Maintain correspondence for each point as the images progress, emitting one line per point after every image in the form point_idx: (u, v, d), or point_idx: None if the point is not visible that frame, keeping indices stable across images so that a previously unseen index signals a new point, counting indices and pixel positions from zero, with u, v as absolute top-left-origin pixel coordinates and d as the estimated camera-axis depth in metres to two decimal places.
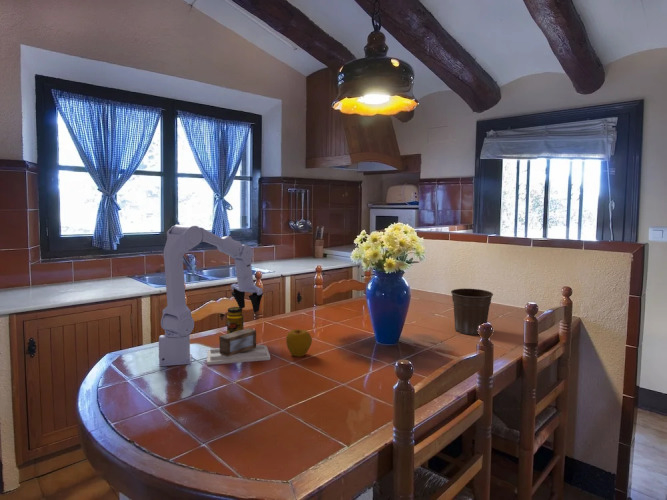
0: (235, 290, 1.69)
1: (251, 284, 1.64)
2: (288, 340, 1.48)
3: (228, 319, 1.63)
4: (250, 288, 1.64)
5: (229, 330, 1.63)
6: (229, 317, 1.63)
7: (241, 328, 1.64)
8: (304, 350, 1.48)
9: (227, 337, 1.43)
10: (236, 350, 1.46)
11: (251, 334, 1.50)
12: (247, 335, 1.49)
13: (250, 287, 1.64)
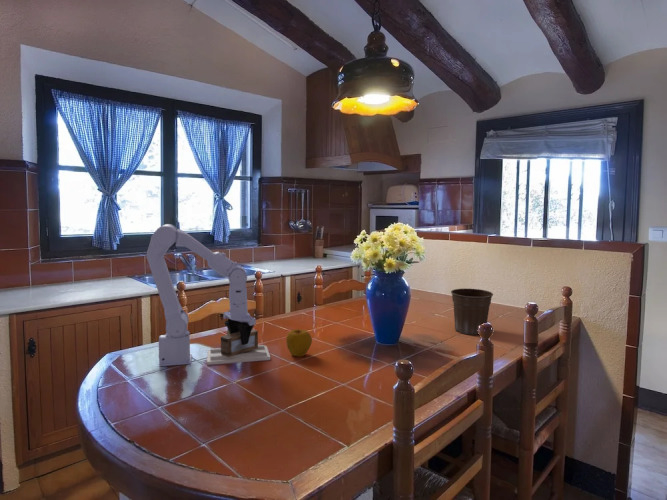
0: None
1: (244, 313, 1.45)
2: (288, 340, 1.48)
3: None
4: (242, 317, 1.45)
5: None
6: None
7: None
8: (304, 350, 1.48)
9: (228, 337, 1.43)
10: (237, 351, 1.45)
11: (253, 334, 1.49)
12: None
13: (243, 316, 1.45)
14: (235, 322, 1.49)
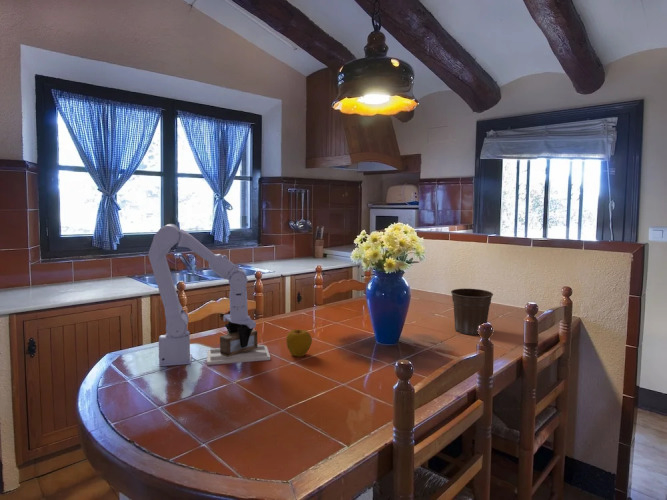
0: None
1: (244, 316, 1.45)
2: (288, 340, 1.48)
3: None
4: (243, 320, 1.45)
5: None
6: None
7: None
8: (304, 350, 1.48)
9: (227, 337, 1.43)
10: (236, 351, 1.45)
11: (252, 334, 1.49)
12: None
13: (243, 319, 1.45)
14: (236, 325, 1.49)
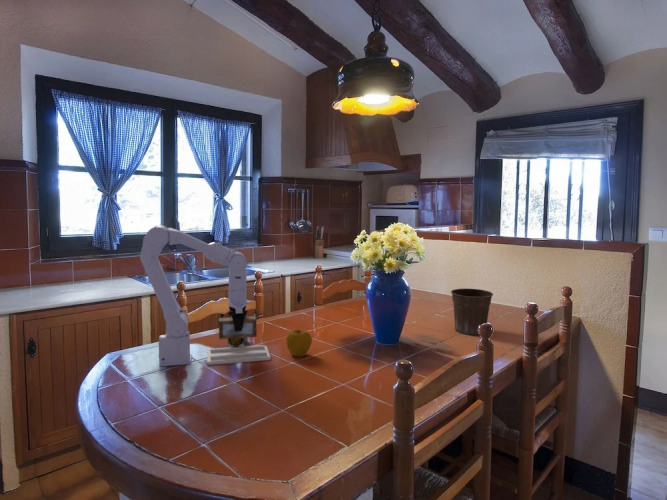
0: None
1: (238, 300, 1.44)
2: (288, 340, 1.48)
3: None
4: (236, 304, 1.44)
5: None
6: None
7: None
8: (304, 350, 1.48)
9: (221, 320, 1.45)
10: (230, 335, 1.45)
11: (250, 322, 1.47)
12: (245, 322, 1.46)
13: (236, 303, 1.44)
14: None
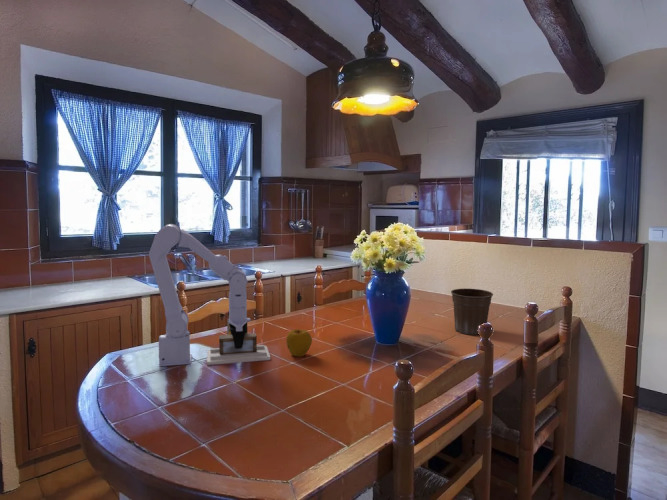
0: None
1: (239, 317, 1.45)
2: (288, 340, 1.48)
3: None
4: (236, 321, 1.44)
5: None
6: None
7: None
8: (304, 350, 1.48)
9: (222, 337, 1.46)
10: (231, 352, 1.46)
11: (250, 339, 1.47)
12: (245, 339, 1.47)
13: (236, 320, 1.45)
14: None
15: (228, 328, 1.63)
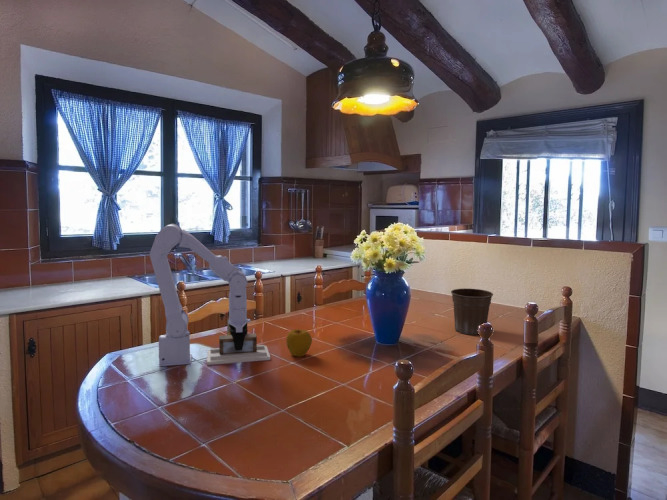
0: None
1: (239, 318, 1.45)
2: (288, 340, 1.48)
3: None
4: (236, 322, 1.44)
5: None
6: None
7: None
8: (304, 350, 1.48)
9: (222, 338, 1.46)
10: (231, 353, 1.46)
11: (250, 339, 1.47)
12: (245, 340, 1.47)
13: (236, 321, 1.45)
14: None
15: (228, 328, 1.63)
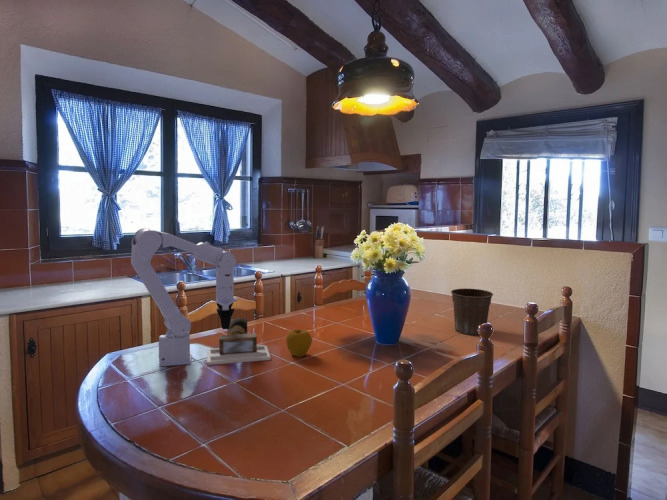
0: None
1: (225, 297, 1.48)
2: (288, 340, 1.48)
3: None
4: (223, 301, 1.47)
5: None
6: None
7: None
8: (304, 350, 1.48)
9: (222, 338, 1.46)
10: (231, 353, 1.46)
11: (250, 339, 1.47)
12: (245, 340, 1.47)
13: (223, 300, 1.48)
14: None
15: None
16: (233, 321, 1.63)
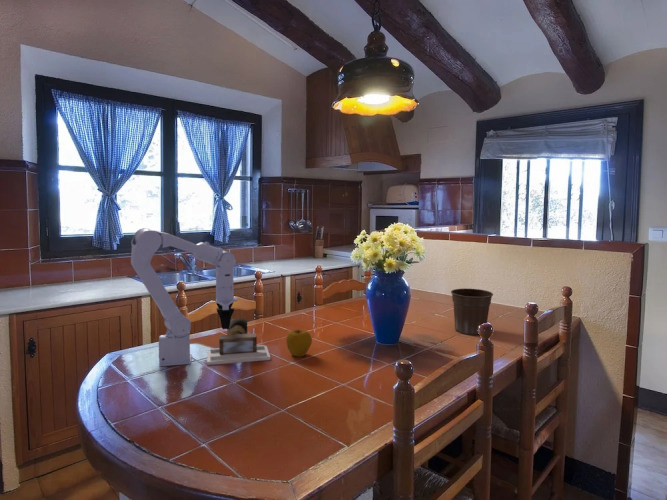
0: None
1: (225, 297, 1.48)
2: (288, 340, 1.48)
3: None
4: (223, 301, 1.47)
5: None
6: None
7: None
8: (304, 350, 1.48)
9: (222, 338, 1.46)
10: (231, 353, 1.46)
11: (250, 339, 1.47)
12: (245, 340, 1.47)
13: (223, 300, 1.48)
14: None
15: None
16: (233, 321, 1.63)
